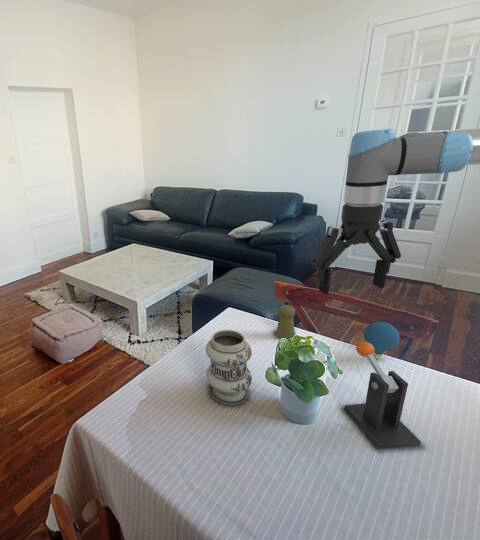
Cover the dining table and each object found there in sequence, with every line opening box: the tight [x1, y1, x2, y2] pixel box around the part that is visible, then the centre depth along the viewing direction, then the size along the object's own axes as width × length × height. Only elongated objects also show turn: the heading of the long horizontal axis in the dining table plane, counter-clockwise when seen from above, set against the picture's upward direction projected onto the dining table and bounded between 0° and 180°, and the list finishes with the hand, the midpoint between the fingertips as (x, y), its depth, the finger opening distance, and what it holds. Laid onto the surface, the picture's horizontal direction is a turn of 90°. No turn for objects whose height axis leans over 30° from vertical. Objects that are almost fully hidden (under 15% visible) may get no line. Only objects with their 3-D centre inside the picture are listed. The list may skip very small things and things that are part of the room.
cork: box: [275, 304, 296, 340], centre depth 116 cm, size 6×6×11 cm
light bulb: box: [363, 321, 401, 360], centre depth 99 cm, size 8×8×12 cm
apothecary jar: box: [204, 329, 253, 406], centre depth 92 cm, size 12×12×18 cm
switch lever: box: [355, 341, 399, 393], centre depth 78 cm, size 12×4×4 cm, turn 0°
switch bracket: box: [343, 370, 422, 450], centre depth 77 cm, size 12×9×14 cm
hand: (350, 289), depth 83 cm, fingers open, 13 cm apart
